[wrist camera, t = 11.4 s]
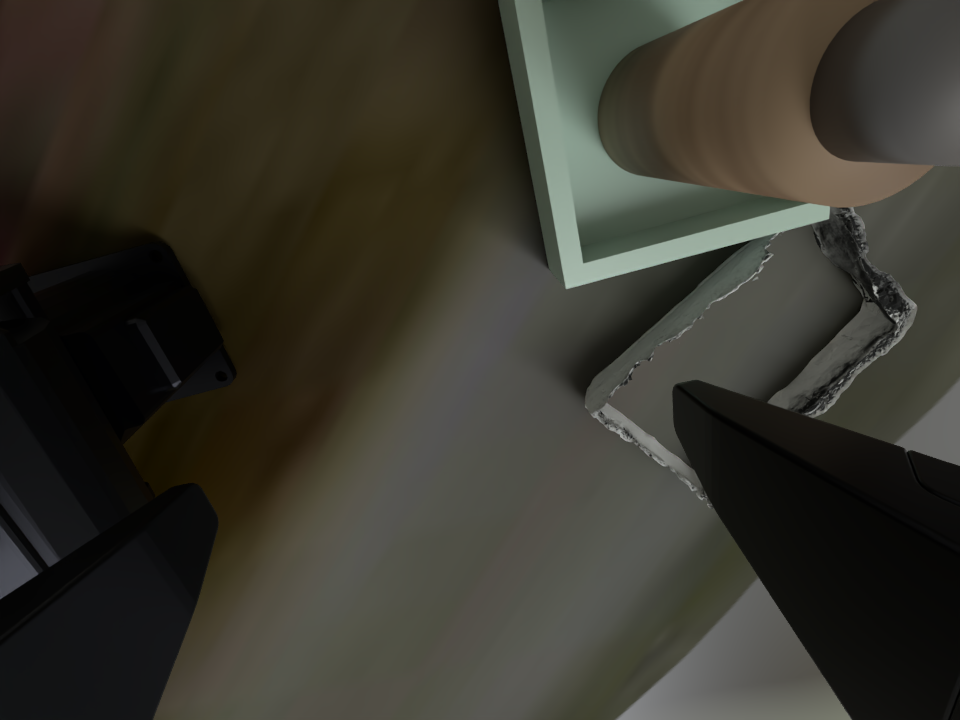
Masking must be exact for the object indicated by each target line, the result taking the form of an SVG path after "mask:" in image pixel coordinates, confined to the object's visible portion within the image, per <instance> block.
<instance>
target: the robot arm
mask: <svg viewBox="0 0 960 720" xmlns="http://www.w3.org/2000/svg"><path fill="white" fill-rule="evenodd" d="M154 250H157V251H159V252H160V253H161V254H162V257H163V259H162V260H159V259H157V258H156V257H155V255H154ZM222 344H223V338H222V336H221V334H220V333H219V331H218V329H217V327H216V325H215V323H214V321H213V319H212V317H211V315H210V314H209V312H208V310H207V308H206V306H205V304H204V302H203V300H202V298H201V296H200V294H199V293H198V291H197V289H195V288H193V287H192V286H191V285H190V283H189V281H188V279H187V277H186V275H185V273H184V271H183V269H182V268H181V266H180V264H179V262H178V260H177V258H176V256H175V254H174V252H173V251H172V249H171V248H170V247H169V246H168V245H167V244H165V243H162V242H152V243H148V244H145V245H141V246H137V247H134V248H130V249H126V250H123V251H119V252H116V253H112V254H108V255H105V256H101V257H97V258H94V259H90V260H87V261H83V262H79V263H76V264H72V265H68V266H65V267H61V268H58V269H54V270H50V271H47V272H43V273H39V274H36V275H32V276H29V277H28V275H27V273H26V272H25V270H24V268H23V267H22V265H21V263H15V264H10V265H4V266H0V720H153V718H154V715H155V713H156V710H157V708H158V705H159V702H160V700H161V697H162V694H163V692H164V689H165V687H166V684H167V681H168V679H169V676H170V674H171V671H172V668H173V666H174V663H175V660H176V658H177V655H178V653H179V650H180V647H181V645H182V642H183V640H184V637H185V634H186V632H187V629H188V627H189V624H190V621H191V619H192V616H193V613H194V610H195V607H196V605H197V601H198V598H199V595H200V592H201V588H202V584H203V581H204V577H205V573H206V570H207V566H208V563H209V559H210V555H211V552H212V548H213V544H214V541H215V537H216V533H217V530H218V517H217V514H216V512H215V510H214V508H213V507H212V505H211V503H210V502H209V500H208V498H207V497H206V495H205V493H204V491H203V490H202V488H201V487H200V486H199V485H198V484H195V483H188V484H183V485H179V486H174V487H172V488H170V489H168V490H167V491H165V492H164V493H162V494H160V495H159V496H157V497H156V498H155V494H154V492H153V490H152V489H151V487H150V485H149V483H147V482H144V481H143V479H142V477H141V476H140V474H139V472H138V470H137V469H136V467H135V465H134V464H133V462H132V460H131V458H130V457H129V455H128V453H127V452H126V450H125V448H124V446H123V444H124V443H125V442H126V441H127V440H128V439H129V438H130V437H131V436H132V435H133V434H134V433H135V432H136V431H137V430H138V429H139V428H140V427H141V426H142V425H143V424H144V423H145V422H146V421H147V420H148V419H149V418H150V417H151V416H152V415H153V414H154V413H155V412H156V411H157V410H158V409H159V408H160V407H161V406H162V405H163V404H164V403H165V402H169V401H172V400H176V399H180V398H184V397H187V396H191V395H195V394H199V393H202V392H206V391H210V390H214V389H217V388H221V387H225V386H228V385H230V384H231V383H232V381H233V380H234V379H235V378H236V374H237V373H236V370H235V368H234V366H233V364H232V362H231V360H230V358H229V356H228V355H227V353H226V351H225V349H224V347H223V345H222ZM219 371H222V372H224V373H226V375H227V377H222V376H221V375H220V374H219ZM672 395H673V421H674V428H675V431H676V434H677V436H678V438H679V440H680V442H681V444H682V446H683V448H684V451H685V453H686V455H687V457H688V459H689V461H690V463H691V465H692V467H693V469H694V471H695V473H696V475H697V477H698V479H699V481H700V483H701V485H702V487H703V489H704V491H705V493H706V495H707V497H708V499H709V500H710V502H711V504H712V506H713V507H714V509H715V511H716V512H717V514H718V516H719V517H720V519H721V520H722V522H723V523H724V525H725V526H726V528H727V529H728V531H729V533H730V534H731V536H732V537H733V539H734V540H735V542H736V543H737V545H738V546H739V548H740V549H741V551H742V552H743V554H744V555H745V557H746V559H747V560H748V562H749V563H750V565H751V566H752V568H753V569H754V571H755V572H756V574H757V575H758V577H759V578H760V580H761V581H762V583H763V585H764V586H765V588H766V589H767V591H768V592H769V594H770V595H771V597H772V598H773V600H774V601H775V603H776V605H777V606H778V607H779V609H780V611H781V612H782V614H783V615H784V617H785V618H786V620H787V621H788V623H789V624H790V626H791V627H792V629H793V631H794V632H795V634H796V635H797V637H798V638H799V639H800V641H801V643H802V644H803V646H804V647H805V649H806V650H807V652H808V653H809V655H810V657H811V658H812V660H813V661H814V663H815V664H816V666H817V667H818V669H819V670H820V672H821V673H822V675H823V677H824V678H825V679H826V681H827V683H828V684H829V686H830V687H831V689H832V690H833V692H834V693H835V695H836V696H837V698H838V699H839V701H840V702H841V704H842V706H843V707H844V709H845V710H846V712H847V713H848V715H849V716H850V718H851V719H852V720H960V466H958V465H955V464H952V463H949V462H945V461H942V460H939V459H936V458H933V457H930V456H927V455H924V454H921V453H918V452H915V451H912V450H910V451H908V452H906V450H905V449H904V448H902V447H900V446H897V445H894V444H891V443H888V442H885V441H882V440H878V439H875V438H872V437H869V436H866V435H863V434H860V433H857V432H854V431H851V430H848V429H845V428H842V427H839V426H836V425H833V424H830V423H827V422H824V421H821V420H818V419H815V418H812V417H809V416H806V415H803V414H800V413H797V412H794V411H790V410H787V409H784V408H781V407H778V406H775V405H772V404H769V403H766V402H763V401H760V400H757V399H754V398H751V397H748V396H745V395H742V394H739V393H736V392H733V391H730V390H727V389H724V388H721V387H718V386H715V385H712V384H709V383H706V382H702V381H699V380H692V381H687V382H682V383H678V384H676V385H675V386H674V387H673V391H672Z"/></svg>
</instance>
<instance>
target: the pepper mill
mask: <svg viewBox="0 0 960 720" xmlns="http://www.w3.org/2000/svg"><path fill="white" fill-rule="evenodd" d="M598 130H599V135H600V138H601V142H602V144H603V147H604V149H605V151H606V152H607V154H608V156H609V157H610V158H611V159H612V161H613V162H614V163H616V164H617V165H618V166H619V167H620V168H622V169H623V170H625V171H627V172H629V173H632V174H635V175H639V176H645V177H651V178H657V179H663V180H669V181H676V182H682V183H688V184H694V185H700V186H706V187H712V188H719V189H725V190H731V191H737V192H743V193H749V194H755V195H762V196H768V197H774V198H780V199H786V200H792V201H798V202H805V203H811V204H817V205H823V206H830V207H837V208H841V207H856V206H863V205H867V204H870V203H874V202H877V201H880V200H882V199H885V198H887V197H889V196H892V195H894V194H895V193H897V192H899V191H901V190H903V189H904V188H906V187H908V186H909V185H911V184H912V183H913V182H915V181H916V180H918V179H919V178H920V177H922V176H923V175H924V174H925V173H926V172H928V171H929V170H930V169H931V168H932V167H933V166H960V0H743V1H740V2H738V3H736V4H734V5H731V6H729V7H727V8H725V9H722V10H720V11H718V12H716V13H713V14H711V15H709V16H707V17H704V18H702V19H700V20H698V21H695V22H693V23H691V24H689V25H686V26H684V27H682V28H680V29H677V30H675V31H673V32H671V33H668V34H666V35H664V36H662V37H660V38H657V39H655V40H653V41H651V42H648V43H646V44H644V45H642V46H640V47H638V48H636V49H634V50H633V51H631V52H630V53H629V54H628V55H626V56H625V57H624V58H623V59H622V60H621V61H620V62H619V63H618V64H617V66H616V67H615V68H614V70H613V71H612V72H611V74H610V76H609V77H608V79H607V81H606V83H605V86H604V88H603V91H602V94H601V97H600V101H599V106H598Z"/></svg>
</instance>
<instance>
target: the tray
mask: <svg viewBox="0 0 960 720" xmlns="http://www.w3.org/2000/svg"><path fill="white" fill-rule="evenodd" d="M740 1H743V0H498V4H499V9H500V14H501V20H502V25H503V30H504V35H505V41H506V46H507V51H508V56H509V62H510V67H511V72H512V77H513V83H514V88H515V93H516V98H517V104H518V109H519V114H520V119H521V125H522V130H523V135H524V140H525V145H526V151H527V156H528V161H529V166H530V172H531V177H532V182H533V187H534V193H535V198H536V203H537V208H538V214H539V219H540V224H541V229H542V235H543V240H544V245H545V250H546V256H547V261H548V266H549V270H550V271H551V272H552V274H553V275H554V276H555V277H556V278H557V279H558V280H559V282H560V283H561V284H562V285H563V286H564V287H565V289H569V288H572V287H576V286H580V285H584V284H587V283H591V282H595V281H599V280H602V279H606V278H610V277H614V276H617V275H621V274H625V273H629V272H632V271H636V270H640V269H644V268H647V267H651V266H655V265H659V264H662V263H666V262H670V261H674V260H677V259H681V258H685V257H689V256H692V255H696V254H700V253H704V252H707V251H711V250H715V249H719V248H722V247H726V246H730V245H734V244H737V243H741V242H745V241H749V240H752V239H756V238H760V237H764V236H767V235H771V234H775V233H779V232H782V231H786V230H790V229H793V228H797V227H801V226H805V225H808V224H812V223H816V222H820V221H823V220H827V219H829V213H830V206H823V205H817V204H811V203H805V202H798V201H792V200H786V199H780V198H774V197H768V196H762V195H755V194H749V193H743V192H737V191H731V190H725V189H719V188H712V187H706V186H700V185H694V184H688V183H682V182H676V181H669V180H663V179H657V178H651V177H645V176H639V175H635V174H632V173H629V172H627V171H625V170H623V169H622V168H620V167H619V166H618V165H617V164H616V163H614V162H613V161H612V159H611V158H610V157H609V156H608V154H607V152H606V151H605V149H604V147H603V144H602V142H601V138H600V135H599V130H598V106H599V101H600V97H601V94H602V91H603V88H604V86H605V83H606V81H607V79H608V77H609V76H610V74H611V72H612V71H613V70H614V68H615V67H616V66H617V64H618V63H619V62H620V61H621V60H622V59H623V58H624V57H625V56H626V55H628V54H629V53H630V52H631V51H633V50H634V49H636V48H638V47H640V46H642V45H644V44H646V43H648V42H651V41H653V40H655V39H657V38H660V37H662V36H664V35H666V34H668V33H671V32H673V31H675V30H677V29H680V28H682V27H684V26H686V25H689V24H691V23H693V22H695V21H698V20H700V19H702V18H704V17H707V16H709V15H711V14H713V13H716V12H718V11H720V10H722V9H725V8H727V7H729V6H731V5H734V4H736V3H738V2H740Z"/></svg>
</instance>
